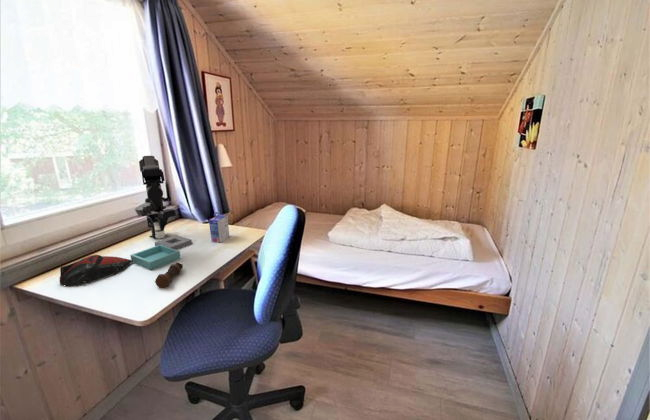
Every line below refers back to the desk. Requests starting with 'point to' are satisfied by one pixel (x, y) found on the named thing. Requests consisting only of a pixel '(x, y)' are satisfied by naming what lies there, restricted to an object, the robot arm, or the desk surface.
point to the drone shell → (91, 269)
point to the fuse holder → (178, 239)
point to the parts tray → (155, 257)
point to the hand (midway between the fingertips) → (159, 229)
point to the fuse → (158, 230)
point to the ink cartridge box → (219, 228)
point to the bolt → (168, 275)
